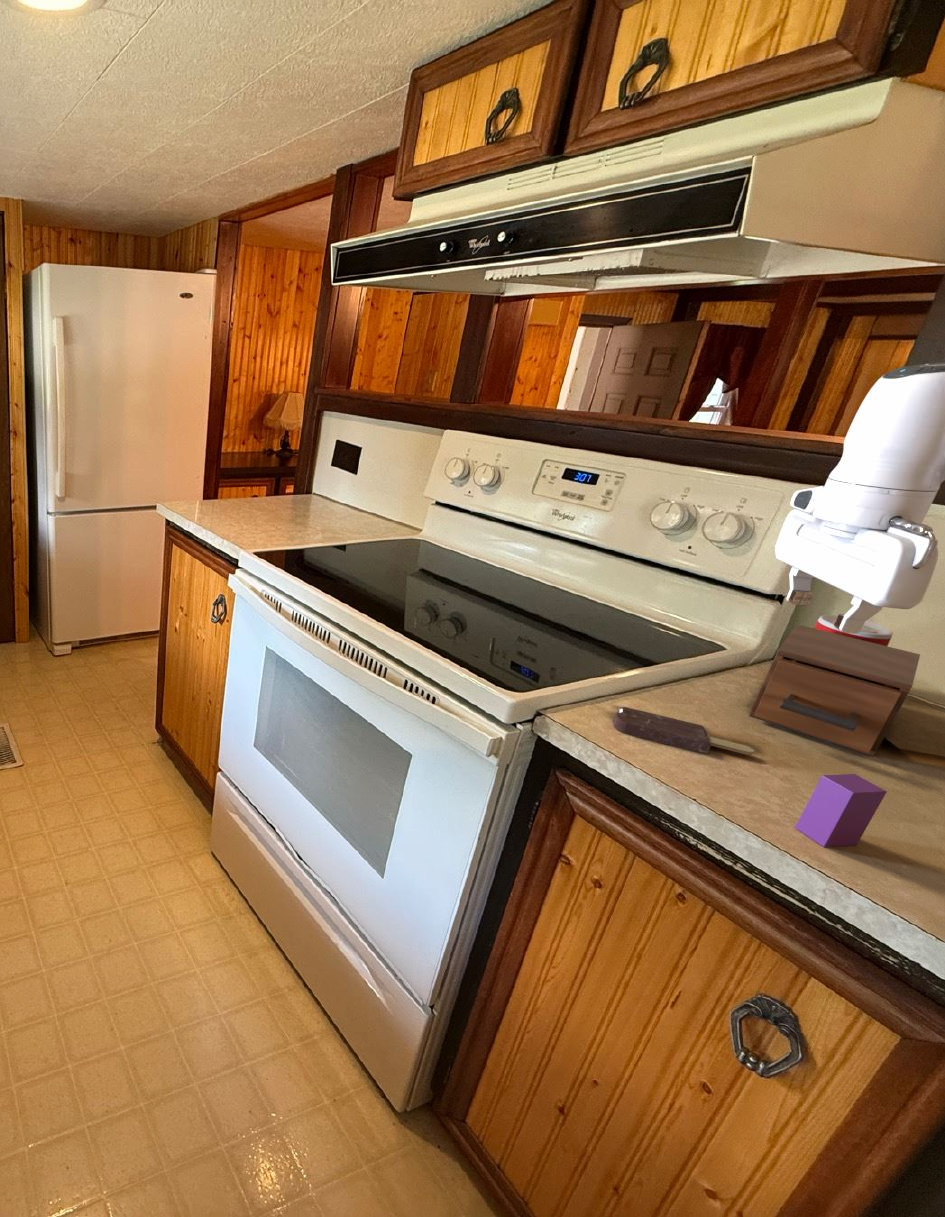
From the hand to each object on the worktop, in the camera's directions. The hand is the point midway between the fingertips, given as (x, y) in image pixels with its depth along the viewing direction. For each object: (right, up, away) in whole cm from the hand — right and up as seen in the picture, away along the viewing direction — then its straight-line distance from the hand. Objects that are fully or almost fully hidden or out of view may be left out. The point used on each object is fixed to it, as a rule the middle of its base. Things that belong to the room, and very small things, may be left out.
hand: (819, 616), depth 82 cm
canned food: (+24, -12, +22) cm, 34 cm away
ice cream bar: (-13, -17, +6) cm, 22 cm away
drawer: (+9, -15, +10) cm, 20 cm away
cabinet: (+13, -15, +13) cm, 23 cm away
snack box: (-12, -24, -12) cm, 29 cm away
